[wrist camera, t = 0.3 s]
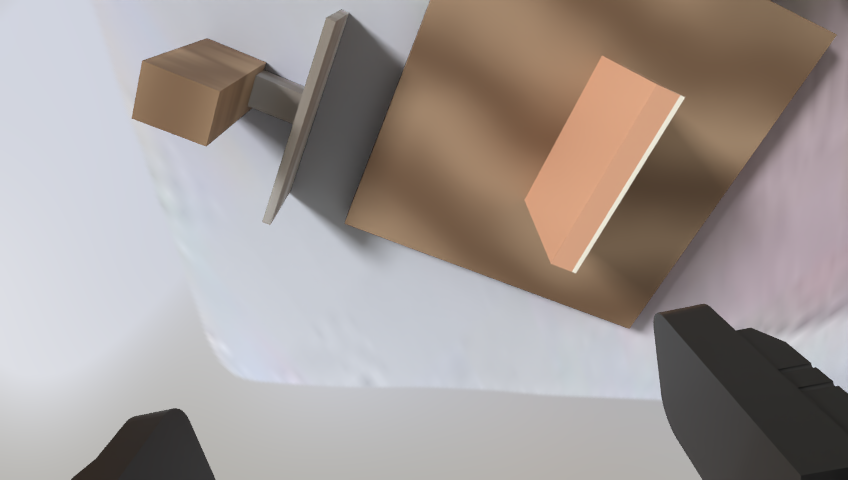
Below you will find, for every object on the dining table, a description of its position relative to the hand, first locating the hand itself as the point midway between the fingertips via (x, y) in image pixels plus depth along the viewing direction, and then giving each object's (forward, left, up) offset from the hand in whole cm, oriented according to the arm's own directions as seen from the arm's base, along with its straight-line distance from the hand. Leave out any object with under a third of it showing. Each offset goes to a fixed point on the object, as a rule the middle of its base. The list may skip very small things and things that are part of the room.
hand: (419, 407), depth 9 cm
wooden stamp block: (+2, -8, -22) cm, 23 cm away
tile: (-2, +7, -20) cm, 22 cm away
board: (-2, +7, -22) cm, 23 cm away
